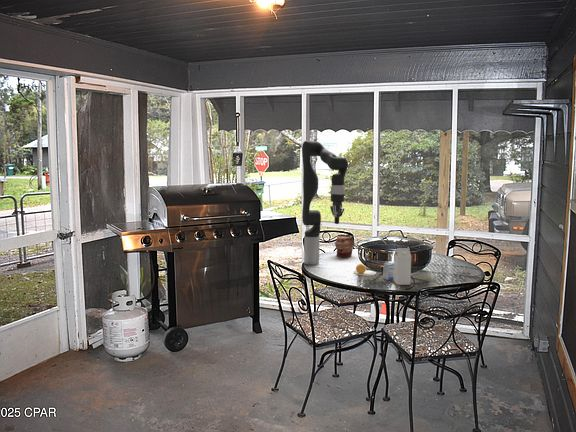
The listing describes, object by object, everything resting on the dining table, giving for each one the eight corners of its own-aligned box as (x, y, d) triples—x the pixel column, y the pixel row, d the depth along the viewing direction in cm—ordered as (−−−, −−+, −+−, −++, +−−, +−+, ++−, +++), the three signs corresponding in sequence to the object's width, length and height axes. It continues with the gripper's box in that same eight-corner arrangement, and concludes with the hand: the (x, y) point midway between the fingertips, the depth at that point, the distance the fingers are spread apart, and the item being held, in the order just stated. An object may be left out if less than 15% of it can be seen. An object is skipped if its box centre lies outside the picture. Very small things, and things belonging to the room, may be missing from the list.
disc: (349, 271, 292) (349, 270, 292) (368, 269, 297) (368, 269, 297) (360, 276, 280) (360, 276, 280) (380, 274, 285) (380, 274, 285)
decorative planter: (339, 252, 346) (340, 232, 344) (356, 253, 342) (357, 233, 340) (331, 257, 328) (332, 237, 326) (349, 259, 323) (350, 238, 321)
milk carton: (393, 281, 271) (394, 247, 268) (405, 281, 272) (407, 247, 269) (397, 285, 264) (398, 249, 261) (410, 284, 265) (411, 249, 262)
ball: (358, 274, 290) (352, 269, 288) (363, 266, 291) (357, 261, 289) (364, 276, 285) (357, 271, 283) (369, 268, 286) (363, 263, 284)
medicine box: (387, 280, 273) (388, 264, 272) (382, 278, 277) (383, 263, 276) (399, 278, 277) (399, 263, 276) (393, 277, 281) (394, 261, 280)
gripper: (326, 192, 285) (325, 222, 287) (337, 194, 272) (336, 225, 275) (337, 191, 287) (337, 221, 290) (349, 194, 275) (348, 225, 278)
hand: (336, 223), depth 282 cm, fingers closed
